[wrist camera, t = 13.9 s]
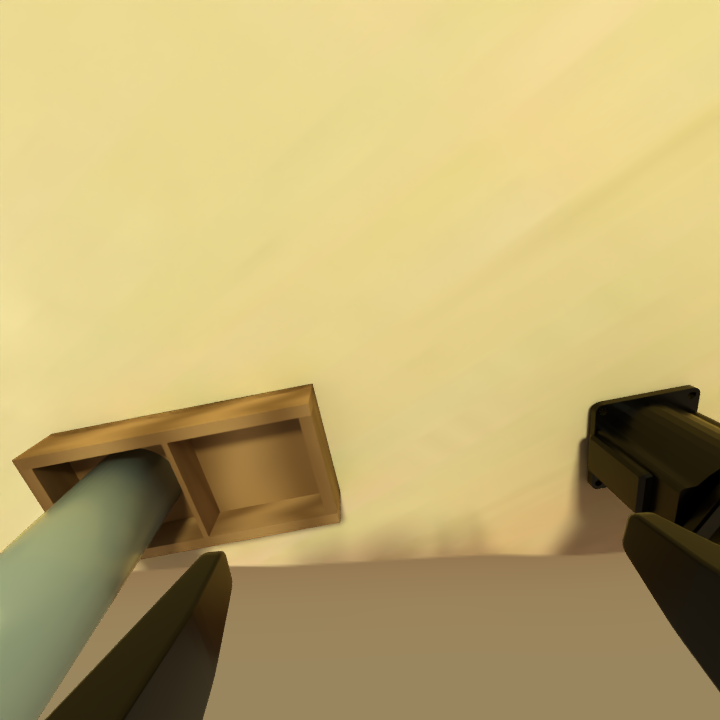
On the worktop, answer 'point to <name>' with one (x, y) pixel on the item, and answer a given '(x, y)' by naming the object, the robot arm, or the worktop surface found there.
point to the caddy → (211, 467)
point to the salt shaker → (74, 572)
